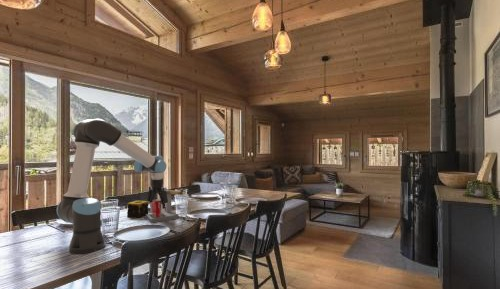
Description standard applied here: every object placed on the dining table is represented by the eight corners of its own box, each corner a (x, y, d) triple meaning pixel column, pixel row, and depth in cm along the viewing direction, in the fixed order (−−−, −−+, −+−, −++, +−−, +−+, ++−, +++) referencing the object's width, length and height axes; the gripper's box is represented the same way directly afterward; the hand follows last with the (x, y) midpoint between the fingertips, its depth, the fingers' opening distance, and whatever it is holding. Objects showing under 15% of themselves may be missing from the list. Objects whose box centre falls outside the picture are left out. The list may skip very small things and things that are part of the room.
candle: (126, 217, 189) (126, 203, 189) (136, 214, 199) (136, 200, 199) (139, 218, 186) (139, 204, 186) (148, 215, 196) (148, 201, 196)
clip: (164, 193, 193) (164, 188, 193) (167, 192, 196) (167, 188, 196) (182, 195, 187) (181, 190, 187) (185, 194, 190) (185, 189, 190)
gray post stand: (151, 222, 176) (150, 199, 176) (145, 217, 188) (145, 195, 187) (178, 218, 186) (178, 195, 186) (171, 213, 198) (171, 192, 198)
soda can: (159, 220, 180) (159, 201, 180) (149, 220, 182) (149, 200, 182) (165, 217, 187) (165, 198, 187) (155, 217, 189) (155, 198, 189)
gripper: (141, 178, 186) (141, 212, 186) (165, 180, 176) (165, 215, 176) (149, 177, 192) (150, 209, 193) (173, 179, 183) (173, 212, 183)
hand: (157, 212), depth 184 cm, fingers open, 9 cm apart
